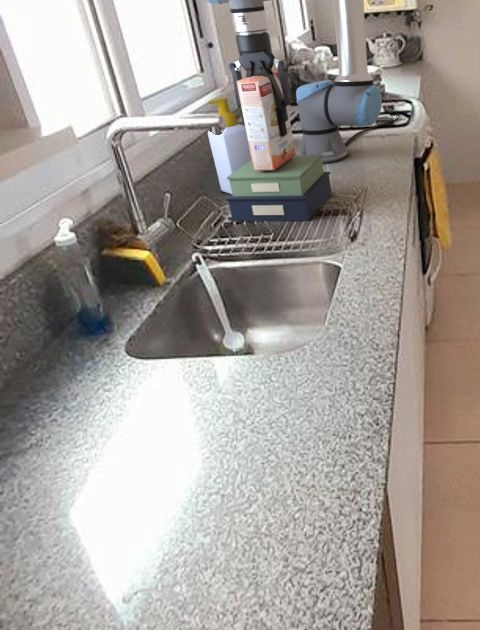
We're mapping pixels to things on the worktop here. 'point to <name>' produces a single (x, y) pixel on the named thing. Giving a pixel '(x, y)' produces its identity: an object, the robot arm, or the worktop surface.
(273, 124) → the cracker box
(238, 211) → the box stack
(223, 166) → the soap bottle
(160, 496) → the worktop surface
